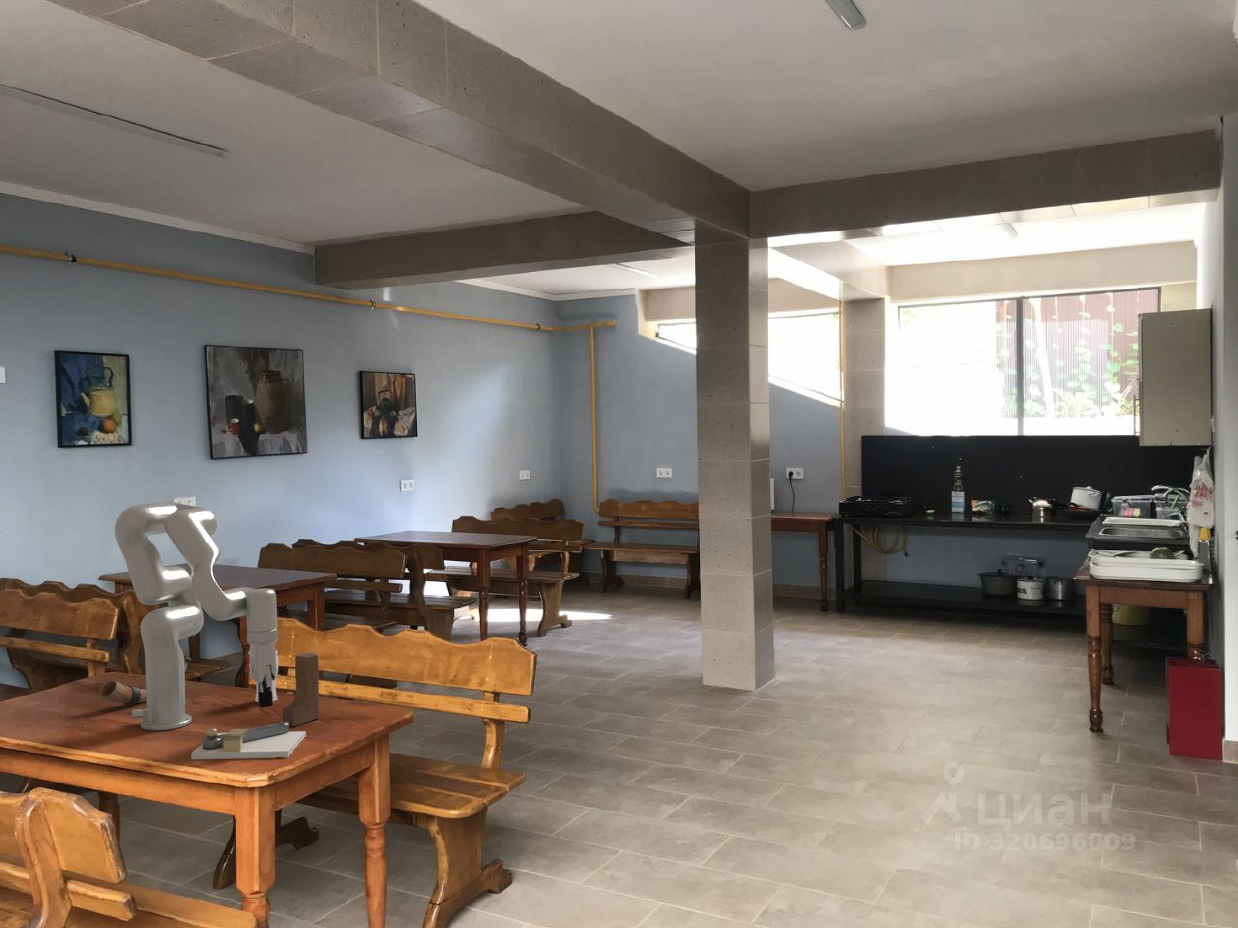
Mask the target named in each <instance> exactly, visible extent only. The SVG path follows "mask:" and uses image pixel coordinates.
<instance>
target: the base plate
mask: <svg viewBox="0 0 1238 928" xmlns="http://www.w3.org/2000/svg"><path fill="white" fill-rule="evenodd" d="M227 733H228V732H217V735H222V734H227ZM304 737H307V732H306V731H304V730H303V731H301V730H300V731H288V732H285V733H280V734H276V735H271V736H267V737H262V738H257V739H253V740H248V741H244V742H242V747H243V750H242V751H241V752H224V746H221V747H219V748H216V749H203V748H202V744H200V746H198V747H197V748H195V750H193V751H192V752H191V760H219V759H220V760H223V759H224V760H225V759H227V760H228V759H230V760H231V759H232V760H233V759H267V758H268V759H272V758H274V759H276V757H283V758H289V757H290V756H291V755H292V754H293V753H294V751H295V750H296V749H297V748H298V747H299V746H298V744H299V743H300V742H301V741H302V740H303V739H304ZM304 740H305V739H304ZM304 740H303V741H304ZM303 741H302V742H303ZM302 742H301V743H302ZM301 743H300V744H301ZM300 744H299V745H300ZM297 746H298V747H297ZM296 747H297V748H296ZM295 748H296V749H295ZM294 749H295V750H294ZM293 750H294V751H293ZM290 754H291V755H290ZM289 755H290V756H289Z"/></svg>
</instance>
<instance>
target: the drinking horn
mask: <svg viewBox="0 0 1238 928" xmlns="http://www.w3.org/2000/svg"><path fill="white" fill-rule="evenodd" d="M191 661H192V659H191V657H187V656H186V657H184V673H185V672H186V670H187V668H188V666H189V665H188V664H189V662H191ZM99 696H100V698H101V699H103V700H106V701H109V702H112V703H113V702H114V703H118V704H123V705H136V704H140V703H145V702H146V688H145V689H142V688H141V689H140V688H138V687H136V684H132V685H131V686H130V685H129V686H127V685H126V684H125V685H124V684H122V683H121V682H119V681H117V680H115V679H110V680H108V681H106V682H105V683H104V684H103V685H102V687H101V688H100V691H99ZM146 703H147V702H146Z"/></svg>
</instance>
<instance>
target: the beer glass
mask: <svg viewBox="0 0 1238 928" xmlns="http://www.w3.org/2000/svg"><path fill="white" fill-rule="evenodd" d="M278 653H279V652H278V649H277V648H276V647H275V654H276V670H277V676H276V679H275V680H274V681H273V680H272V698H273V701H275V700H277V701H278V695H277V689H276V688H277V680H278V679H277V678H278V672H279V654H278ZM255 685H256V694H255V701H256V702H258V703H257V704H259V700H258V683H257V682H256V681H255ZM256 702H255V703H256ZM275 702H276V701H275Z"/></svg>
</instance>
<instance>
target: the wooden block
mask: <svg viewBox="0 0 1238 928" xmlns="http://www.w3.org/2000/svg"><path fill="white" fill-rule="evenodd" d="M294 657H295V660H294V661H295V662H294V663H295V695H294V698H293V700H292V702H291V703H290V704H288V705H287V706H284V707H283V708H282V709H281V710H282V711H281V712H282V716H281V717H282V722H289V727H292V728H293V726H294V727H296V726H300V725H302V724H306V722H307V723H310V722H313V721H316V720H315V719H317V720H319V719H320V692H319V691H320V688H319V687H320V685H319V684H320V683H319V680H320V679H319V654H318V653H314V652H313V653H312V652H304V653H300V654H296V655H295V656H294ZM312 720H313V721H312ZM309 721H310V722H309Z"/></svg>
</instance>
